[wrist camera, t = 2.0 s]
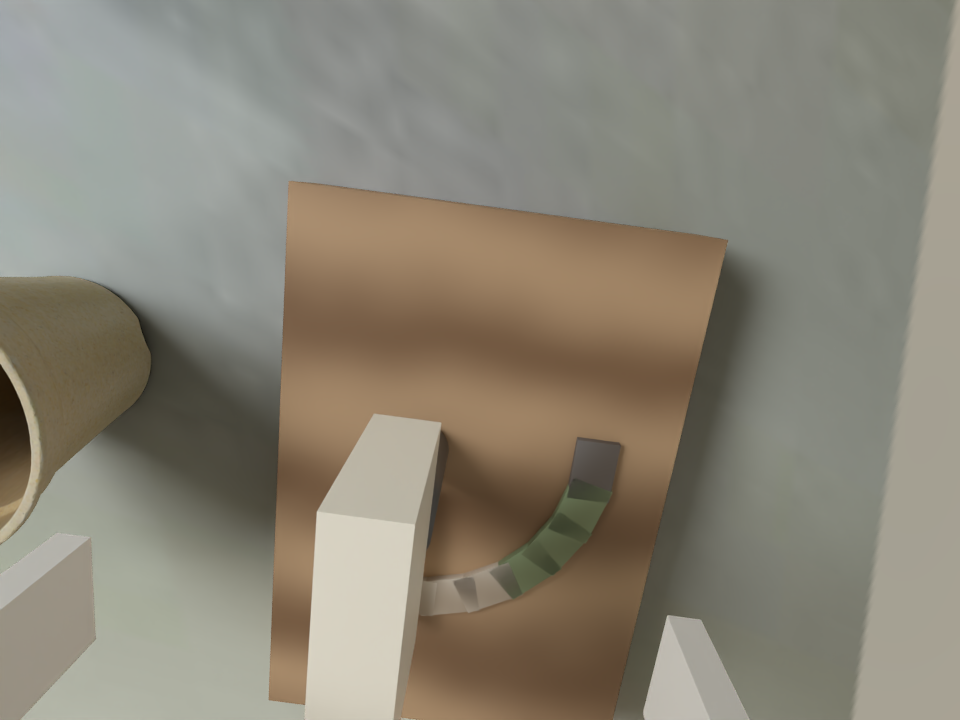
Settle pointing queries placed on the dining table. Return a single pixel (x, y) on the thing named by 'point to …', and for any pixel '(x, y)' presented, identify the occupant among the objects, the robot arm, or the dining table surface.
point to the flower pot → (59, 379)
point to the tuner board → (491, 430)
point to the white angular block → (372, 570)
